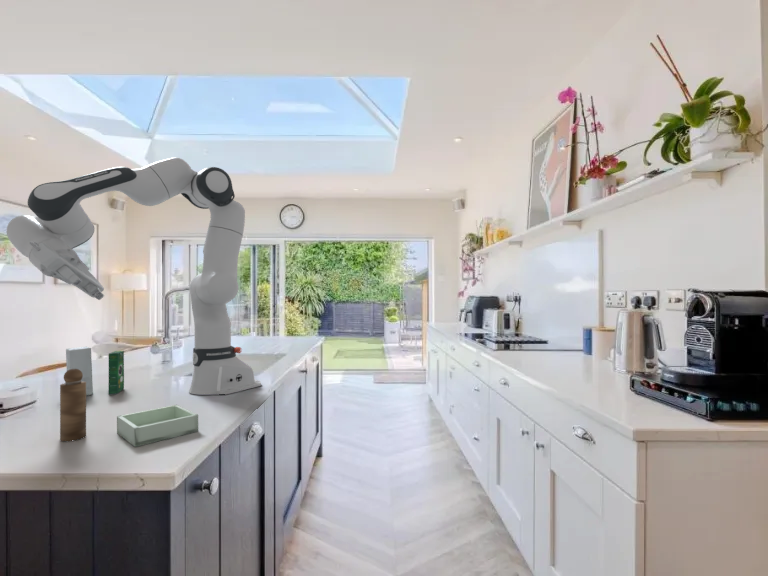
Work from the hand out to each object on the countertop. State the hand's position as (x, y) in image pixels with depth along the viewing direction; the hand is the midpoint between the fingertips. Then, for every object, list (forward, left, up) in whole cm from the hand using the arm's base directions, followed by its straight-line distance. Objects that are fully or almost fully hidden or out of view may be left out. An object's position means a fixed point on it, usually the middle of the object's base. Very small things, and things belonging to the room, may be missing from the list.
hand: (89, 289), depth 104 cm
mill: (+5, +12, -33) cm, 36 cm away
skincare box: (-5, -36, -33) cm, 49 cm away
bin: (-9, +22, -33) cm, 41 cm away
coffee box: (-14, -31, -33) cm, 47 cm away
